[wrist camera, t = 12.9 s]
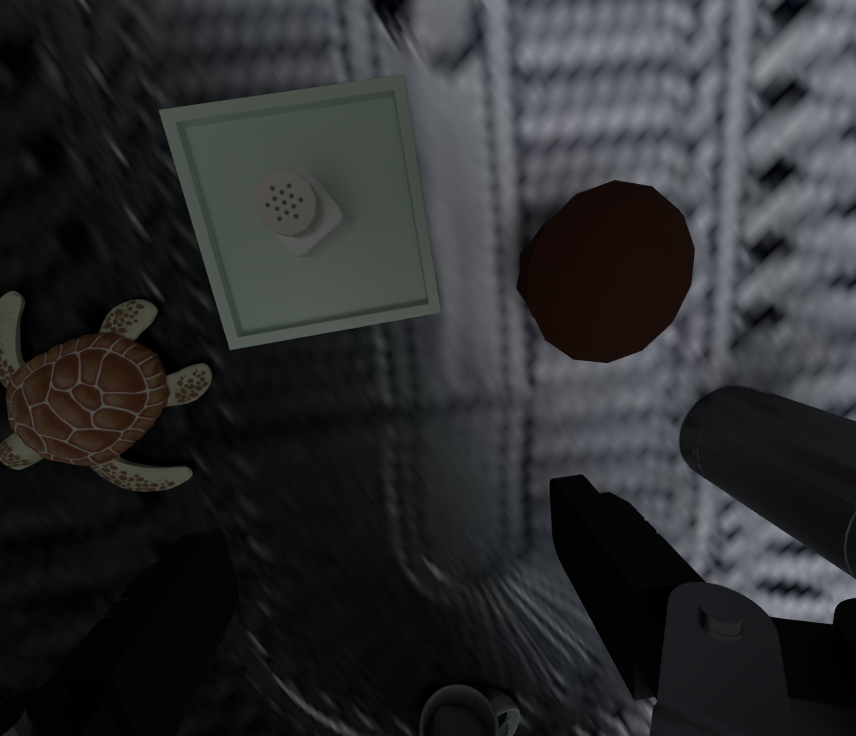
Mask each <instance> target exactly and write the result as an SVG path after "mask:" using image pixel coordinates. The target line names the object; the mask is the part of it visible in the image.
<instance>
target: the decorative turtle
mask: <svg viewBox="0 0 856 736" xmlns="http://www.w3.org/2000/svg"><path fill="white" fill-rule="evenodd" d="M24 307H25V299H24V297H23V296H22V295H21V294H19V293H17V292H16V291H10V292H8V293H6V294H5V295H4V296H2V297H1V299H0V381H1V382H2V384H3V385H4V386H5V387H6V388H7V392H6V400H7V408H8V417H9V421H10V425H11V429H12V430H13V431H14V433H13V434H12V435H10V436H9V437H8V438H7V439H5V440H4V441H3V442H2V443H1V444H0V460H1V461H2V462H3V463H4V464H5V465H7V466H8V467H10V468H13V469H18V470H20V469H23V468H26V467H28V466H30V465H32V464H34V463H36V462H39V461H41V460H42V459H44V458H45V459H48V460H53V461H60V462H65V463H69V464H74V465H83V466H91V468H92V469H93V470H94V471H95V472H96V473H98V474H99V475H101V476H102V477H104V478H105V479H107V480H108V481H110V482H112V483H114V484H116V485H118V486H120V487H122V488H126V489H129V490H133V491H158V490H165V489H170V488H173V487H175V486H178V485H180V484H181V483H183V482H185V481H186V480H188V479H189V478H190V477H191V476H192V471H191V469H190V468H189V467H188V466H185V465H181V466H171V467H161V466H150V465H143V464H138V463H133V462H129V461H126V460H124V459H123V458H121V457H120V456H119V455H121V454H122V453H123V452H125V451H126V450H127V449H129V448H130V447H131V446H133V444H134V443H135V442H136V440H138V439H140V438H141V437H142V436H143V435H144V434H145V433H146V431H147V430H148V429H149V428H150V427H152V426H153V425H154V423H155V421H156V419H157V418H158V417H159V416H160V415H161V412H162V410H163V409H164V407H166V406H173V405H180V404H186V403H189V402H192V401H194V400H196V399H198V398H199V397H200V396H201V395H202V394H203V393H204V392H205V391H206V390H207V389H208V387H209V386H210V384H211V381H212V371H211V368H210V367H209V366H208V365H207V364H204V363H201V364H195V365H191V366H188V367H186V368H184V369H182V370H180V371H178V372H175V373H172V374H169V375H167V376H166V374H165V370H164V367H163V365H162V363H161V361H160V359H159V357H158V354H155V353H153V352H152V350H150V349H149V348H147V347H146V346H144V345H142V344H140V343H137V342H135V340H136V339H137V338H138V337H139V335H140V334H141V333H142V332H143V331H144V330H145V329H146V328H147V327H148V326H149V325H150V324H151V323H152V322H153V320H154V319H155V317H156V315H157V313H158V309H157V307H156V306H155V305H154V304H153V303H151V302H149V301H146V300H139V299H135V300H130V301H127V302H124V303H122V304H120V305H118V306H116V307H115V308H113V309H112V310H111V311H110V312H109V314H108V315H107V316H106V318H105V320H104V322H103V324H102V326H101V329H100V331H99V332H98V333H95V334H91V335H83V336H82V337H81V338H76V339H71V340H69V341H67V342H65V343H64V344H60V345H57V346H54V347H52V348H50V350H49V351H48V352H46V353H44V354H40V355H37V356H35V357H34V358H33V359H31V360H30V361H28V362H26V363H25V362H24V360H23V356H22V351H21V337H20V323H21V316H22V313H23V310H24Z"/></svg>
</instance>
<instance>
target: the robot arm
mask: <svg viewBox="0 0 856 736" xmlns="http://www.w3.org/2000/svg"><path fill="white" fill-rule="evenodd" d="M680 444H681V452H682V455H683V457H684V460H685V461H686V463H687V464H688V466H689V467H690V468H691V469H693V470H694V471H695V472H696V473H698V474H699V475H701V476H702V477H704V478H705V479H707V480H708V481H710V482H711V483H713V484H714V485H716V486H717V487H719V488H720V489H722V490H723V491H725V492H726V493H727V494H729V495H730V496H732V497H733V498H735V499H736V500H738V501H739V502H741V503H742V504H744V505H745V506H747V507H748V508H750V509H751V510H753V511H754V512H756V513H757V514H759V515H760V516H762V517H763V518H765V519H766V520H768V521H769V522H771V523H772V524H774V525H775V526H777V527H778V528H780V529H781V530H783V531H784V532H786V533H787V534H789V535H790V536H792V537H793V538H795V539H796V540H798V541H799V542H801V543H802V544H804V545H805V546H807V547H808V548H810V549H811V550H813V551H814V552H816V553H817V554H819V555H820V556H822V557H823V558H825V559H826V560H828V561H829V562H831V563H832V564H834V565H835V566H837V567H838V568H840V569H841V570H843V571H844V572H846V573H847V574H849V575H850V576H852V577H853V578H855V579H856V421H854V420H851V419H848V418H845V417H842V416H839V415H836V414H833V413H830V412H827V411H824V410H821V409H818V408H815V407H812V406H809V405H806V404H803V403H800V402H796V401H793V400H790V399H787V398H784V397H781V396H778V395H775V394H766V393H763V392H760V391H757V390H754V389H751V388H747V387H742V386H733V387H727V388H723V389H720V390H718V391H715V392H713V393H712V394H710V395H708V396H707V397H705V398H704V399H703V400H702V401H700V402H699V403H698V404H697V405H696V406H695V408H694V409H693V410H692V411H691V413H690V414H689V416H688V418H687V419H686V421H685V423H684V426H683V430H682V433H681V442H680ZM550 504H551V521H552V536H553V542H554V546H555V550H556V553H557V556H558V558H559V560H560V562H561V564H562V566H563V568H564V570H565V572H566V574H567V576H568V577H569V579H570V581H571V583H572V585H573V587H574V589H575V590H576V592H577V594H578V596H579V598H580V600H581V602H582V604H583V605H584V607H585V609H586V611H587V613H588V615H589V617H590V618H591V620H592V622H593V624H594V626H595V628H596V630H597V632H598V633H599V635H600V637H601V639H602V641H603V643H604V645H605V647H606V648H607V650H608V652H609V654H610V656H611V658H612V660H613V661H614V663H615V665H616V667H617V669H618V671H619V673H620V675H621V676H622V678H623V680H624V682H625V684H626V686H627V688H628V689H629V691H630V693H631V695H632V697H633V699H634V700H639V699H645V698H651V697H655V698H656V699H657V703H656V705H655V704H654V707H653V712H652V719H651V727H650V735H649V736H856V598H852V599H847V600H845V601H842V602H840V603H839V604H838V605H837V607H836V609H835V612H834V619H833V624H824V623H816V622H807V621H798V620H790V619H781V618H775V617H770V616H768V614H767V613H766V612H765V611H764V610H763V609H762V608H761V607H760V606H758V605H757V604H756V603H755V602H753V601H752V600H750V599H749V598H747V597H746V596H744V595H742V594H740V593H738V592H736V591H734V590H732V589H729V588H727V587H724V586H721V585H717V584H712V583H706V582H705V581H704V580H703V579H702V578H701V577H700V576H699V575H698V574H697V572H696V571H695V570H694V569H693V568H692V567H691V566H690V565H689V564H688V563H687V562H686V561H685V560H684V559H683V558H682V557H681V556H680V555H679V554H678V553H677V552H676V551H675V550H674V549H673V547H672V546H671V545H670V544H669V543H668V542H667V541H666V540H665V539H664V538H663V537H662V536H661V535H660V534H657V532H656V530H655V529H654V528H653V527H652V526H651V525H650V523H649V522H648V521H645V520H644V517H643V516H642V515H641V514H640V513H639V512H638V511H637V510H636V509H635V508H634V507H633V506H632V505H631V504H630V503H629V502H627V501H625V500H623V499H622V498H620V497H618V496H616V495H614V494H612V493H611V492H605V493H599V492H598V491H597V490H596V489H595V488H594V486H593V485H592V484H591V483H590V482H589V481H588V480H587V478H586V477H585V476H584V475H582V474H580V475H573V476H567V477H560V478H553V479H551V480H550ZM238 599H239V583H238V579H237V576H236V572H235V569H234V565H233V562H232V559H231V555H230V552H229V549H228V545H227V542H226V539H225V536H224V533H223V532H222V530H220V529H218V528H215V529H209V530H202V531H195V532H189V533H184V534H183V535H181V536H180V537H179V539H178V540H177V541H176V542H175V543H174V545H173V546H172V547H171V548H170V550H169V551H168V552H167V553H166V555H165V556H164V557H163V558H162V559H159V560H158V561H156V562H155V563H154V564H153V565H151V566H150V567H149V568H147V569H146V570H145V571H144V572H142V573H141V574H140V575H138V576H137V577H136V578H135V579H134V580H133V582H132V583H131V584H130V585H129V586H128V587H127V589H126V590H125V591H124V592H123V593H122V595H121V596H120V597H119V601H117V602H115V603H114V604H113V605H112V606H111V607H110V609H109V610H108V611H107V612H106V613H105V615H104V619H100V620H99V622H98V623H97V624H96V625H95V626H94V628H93V629H92V630H91V631H90V632H89V633H88V635H87V636H86V637H85V638H84V639H83V641H82V642H81V643H80V644H79V645H78V646H77V648H76V649H75V650H74V651H73V652H72V654H71V655H70V656H69V657H68V658H67V659H66V661H65V662H64V663H63V664H62V665H61V667H60V668H59V669H58V670H57V671H56V672H55V674H54V675H53V676H52V677H51V678H50V679H49V681H48V682H47V683H46V684H45V685H44V686H40V687H36V688H33V689H30V690H27V691H24V692H22V693H20V694H18V695H16V696H14V697H12V698H10V699H8V700H6V701H4V702H3V703H1V704H0V736H176V734H177V732H178V730H179V728H180V726H181V724H182V722H183V719H184V717H185V715H186V713H187V711H188V709H189V707H190V705H191V703H192V701H193V698H194V696H195V694H196V692H197V690H198V688H199V686H200V684H201V682H202V680H203V678H204V675H205V673H206V671H207V669H208V667H209V665H210V663H211V661H212V659H213V657H214V655H215V652H216V650H217V648H218V646H219V644H220V642H221V640H222V638H223V636H224V634H225V632H226V629H227V627H228V625H229V623H230V621H231V619H232V617H233V615H234V613H235V610H236V608H237V604H238Z"/></svg>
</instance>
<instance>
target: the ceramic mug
mask: <svg viewBox="0 0 856 736" xmlns="http://www.w3.org/2000/svg"><path fill="white" fill-rule="evenodd" d="M505 712H507V716H506V718H505V720H504V722H503V723H502V725H501V726H500V727H499V724H498V719H497V717H498V716H499V715H500V714H503V713H505ZM519 718H520V712H519V708H518V707H517V706H516V704H515V703H514V702H513V700H512V699H511V698H510V697H509V696H507V695H499V696H496V697H494V698H492V699H490V700H488V699H487V698H486V697H485V696H484V695H483V694H482V693H481V692H480V691H478V690H477V689H475V688H473V687H471V686H468V685H463V684H452V685H447V686H444V687H442V688H440V689H438V690H437V691H436V692H434V693H433V694H432V695H431V696H430V697H429V699H428V700H427V702H426V703H425V705H424V707H423V710H422V713H421V717H420V722H419V735H420V736H513V734H514V733H515V731H516V729H517V726H518V723H519Z"/></svg>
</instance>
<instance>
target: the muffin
mask: <svg viewBox="0 0 856 736" xmlns="http://www.w3.org/2000/svg"><path fill="white" fill-rule="evenodd" d="M694 253H695V248H694V245H693V242H692V239H691V236H690V233H689V230H688V227H687V224H686V221H685V218H684V215H683V214H682V213H681V212H680V210H679V209H678V208H676V207H675V206H674V205H673V204H672V203H671V202H669V201H668V200H667V199H666V198H665V197H664V196H663V195H661V194H660V193H659V192H658V191H657V190H656V189H654V188H653V187H652V186H647V185H641V184H635V183H628V182H622V181H616V180H614V181H611V182H608V183H606V184H603V185H600V186H597V187H595V188H592V189H589V190H586V191H584V192H581V193H578V194H576V195H575V196H574V197H573V198H572V199H571V200H570V201H569V202H568V203H567V204H566V205H565V206H564V207H563V208H562V209H561V210H560V211H559V212H558V213H557V214H556V215H555V216H554V217H552V218H551V219H550V220H549V221H547V222H546V223H545V224H543V225H542V227H541V228H540V230H539V231H538V233H537V234H536V236H535V237H534V239H533V240H532V241H531V242H530V243H529V245H528V246H527V247H526V248H525V249H524V250H523V251H522V252H521V253H520V272H519V278H518V283H517V290H518V292H519V293H520V295H521V296H522V297H523V299H524V300H525V301H526V303H527V305H528V307H529V310H530V312H531V314H532V316H533V318H534V319H535V320H536V322H537V324H538V326H539V328H540V330H541V332H542V334H543V336H544V338H545V340H546V341H548V342H549V343H550V344H552V345H553V346H555V347H556V348H558V349H559V350H561V351H562V352H563V353H565V354H566V355H568V356H569V357H571V358H572V359H573V360H583V361H593V362H602V363H609V362H612V361H615V360H617V359H620V358H623V357H626V356H628V355H631V354H634V353H636V352H639V351H642V350H643V349H644V348H645V347H647V346H648V345H649V344H650V343H651V342H652V341H653V340H654V339H655V338H656V337H657V336H658V335H659V334H661V333H662V332H663V331H664V330H665V329H666V328H667V327H668V326H669V325H670V324H671V323H672V321H673V320H674V318H675V317H676V315H677V313H678V311H679V309H680V307H681V305H682V303H683V301H684V298H685V296H686V294H687V292H688V290H689V288H690V286H691V282H692V272H693V262H694Z"/></svg>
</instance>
